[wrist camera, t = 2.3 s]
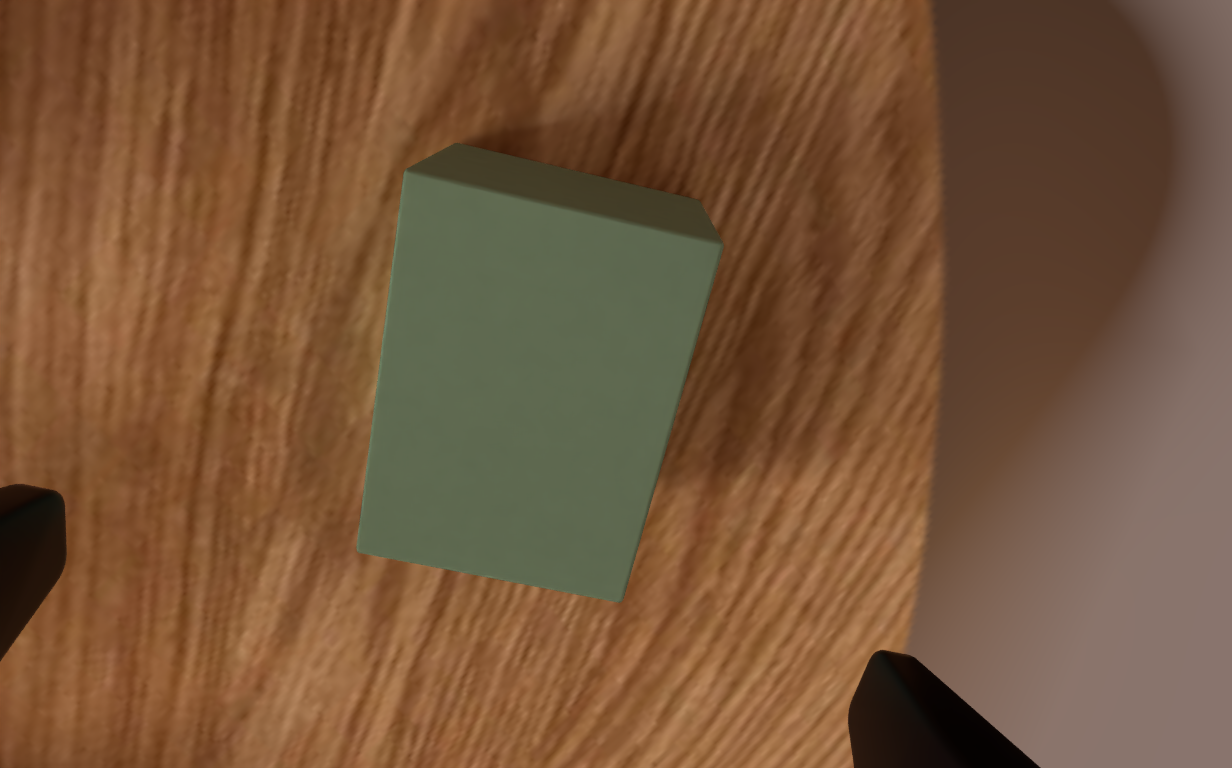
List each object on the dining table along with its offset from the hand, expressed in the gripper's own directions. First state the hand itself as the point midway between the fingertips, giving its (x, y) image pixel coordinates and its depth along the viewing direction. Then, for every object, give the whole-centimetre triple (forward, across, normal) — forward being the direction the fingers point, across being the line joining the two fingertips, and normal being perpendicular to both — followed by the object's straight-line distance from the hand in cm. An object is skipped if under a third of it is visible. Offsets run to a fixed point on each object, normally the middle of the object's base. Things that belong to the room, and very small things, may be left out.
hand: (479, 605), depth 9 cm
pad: (+9, 0, 0) cm, 9 cm away
